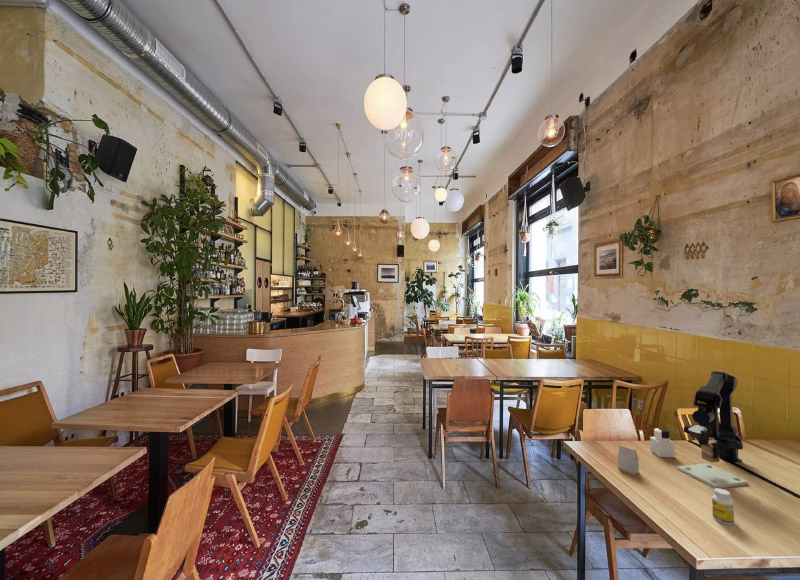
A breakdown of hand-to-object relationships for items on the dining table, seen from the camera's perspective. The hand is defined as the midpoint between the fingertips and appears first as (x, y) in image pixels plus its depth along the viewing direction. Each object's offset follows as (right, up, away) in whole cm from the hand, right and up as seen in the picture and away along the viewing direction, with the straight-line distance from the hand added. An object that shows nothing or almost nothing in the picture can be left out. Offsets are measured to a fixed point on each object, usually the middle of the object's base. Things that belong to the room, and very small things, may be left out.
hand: (710, 456), depth 148 cm
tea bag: (-31, -9, +6) cm, 33 cm away
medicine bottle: (-4, -9, +21) cm, 24 cm away
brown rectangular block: (0, -2, 0) cm, 2 cm away
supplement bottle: (-22, -8, -29) cm, 37 cm away
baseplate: (0, -9, 0) cm, 9 cm away
